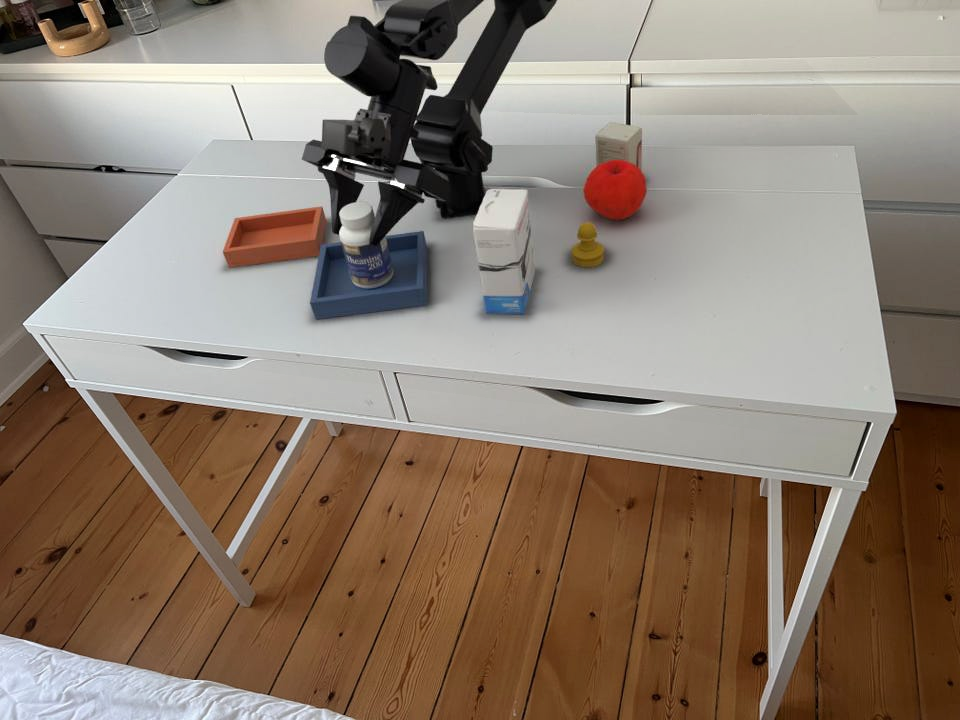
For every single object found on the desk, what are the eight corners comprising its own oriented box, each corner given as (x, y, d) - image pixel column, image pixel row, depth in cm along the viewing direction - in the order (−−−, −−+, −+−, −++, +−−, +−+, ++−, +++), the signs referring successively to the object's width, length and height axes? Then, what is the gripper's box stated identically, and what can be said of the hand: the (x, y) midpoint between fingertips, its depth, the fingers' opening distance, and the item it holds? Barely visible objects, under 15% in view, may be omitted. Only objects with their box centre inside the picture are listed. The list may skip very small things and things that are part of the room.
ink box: (525, 315, 89) (516, 228, 81) (483, 314, 90) (470, 228, 82) (536, 272, 95) (528, 186, 87) (497, 271, 96) (485, 187, 88)
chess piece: (606, 250, 96) (606, 215, 93) (600, 268, 93) (599, 233, 90) (575, 248, 97) (574, 213, 94) (568, 266, 95) (566, 231, 91)
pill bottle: (349, 292, 95) (329, 224, 89) (355, 267, 99) (336, 200, 93) (392, 288, 95) (375, 220, 88) (396, 263, 99) (380, 196, 92)
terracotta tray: (326, 221, 110) (322, 206, 108) (320, 255, 104) (315, 239, 102) (240, 233, 111) (234, 218, 109) (229, 267, 104) (222, 251, 102)
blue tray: (427, 247, 102) (423, 230, 100) (426, 305, 92) (423, 287, 91) (326, 260, 102) (320, 244, 101) (315, 319, 93) (309, 302, 91)
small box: (642, 179, 108) (643, 126, 102) (628, 194, 105) (628, 140, 100) (610, 172, 110) (610, 120, 105) (595, 186, 108) (594, 134, 103)
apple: (581, 230, 100) (578, 180, 95) (588, 198, 106) (587, 149, 101) (643, 232, 98) (644, 180, 93) (648, 199, 104) (649, 149, 99)
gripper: (289, 74, 88) (250, 205, 89) (416, 95, 79) (371, 241, 80) (350, 110, 98) (315, 228, 99) (469, 133, 89) (429, 263, 90)
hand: (353, 239), depth 92 cm, fingers open, 6 cm apart
